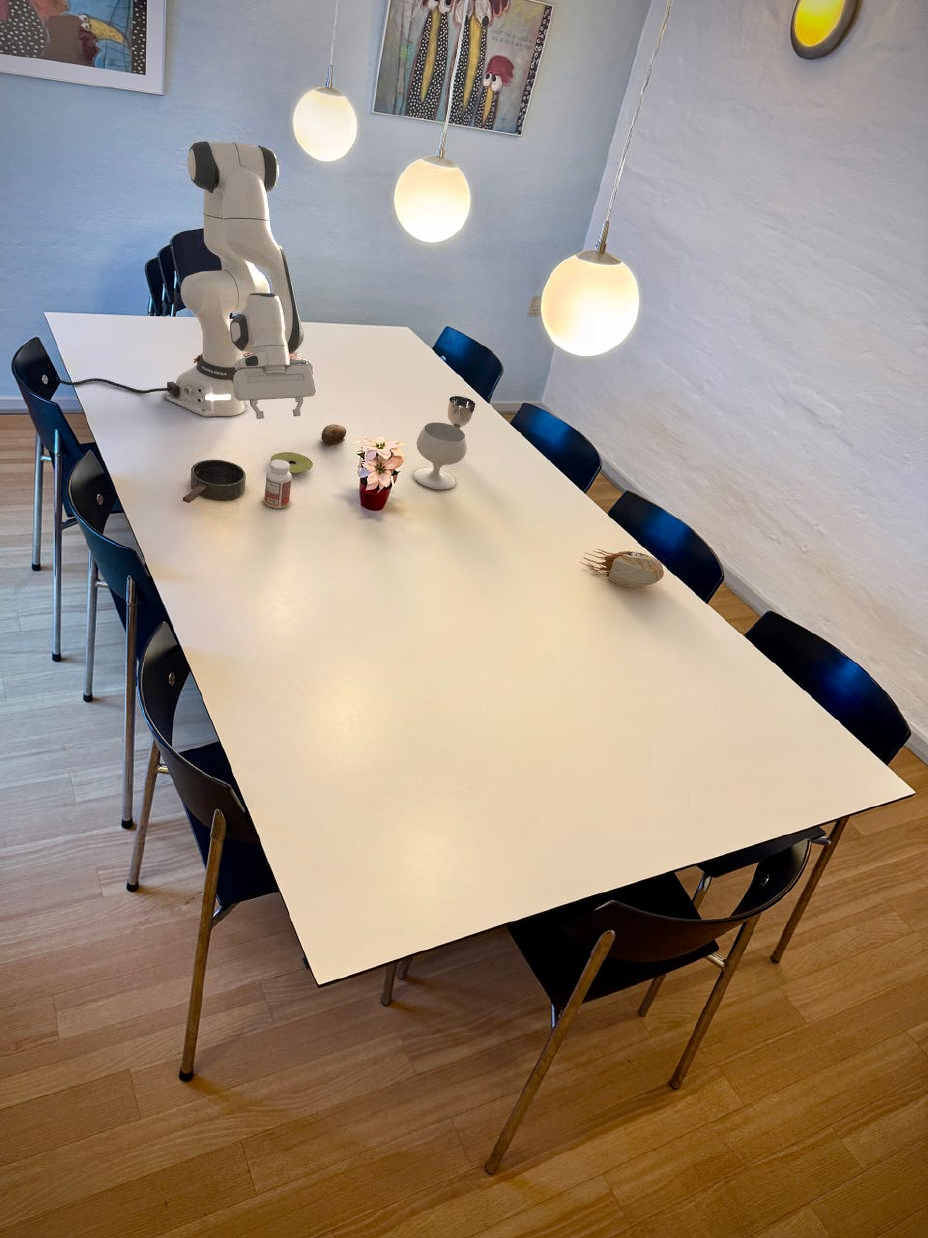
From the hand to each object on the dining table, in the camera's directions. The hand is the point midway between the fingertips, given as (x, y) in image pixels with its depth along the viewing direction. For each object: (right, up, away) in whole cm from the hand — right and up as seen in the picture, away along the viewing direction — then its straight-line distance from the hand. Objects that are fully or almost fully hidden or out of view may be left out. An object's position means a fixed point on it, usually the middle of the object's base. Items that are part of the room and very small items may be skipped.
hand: (278, 417), depth 221 cm
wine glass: (+43, +2, +51) cm, 66 cm away
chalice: (+38, -11, +31) cm, 50 cm away
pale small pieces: (+20, -16, +17) cm, 31 cm away
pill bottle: (-1, -21, +3) cm, 21 cm away
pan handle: (-18, -20, -8) cm, 29 cm away
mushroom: (+8, 0, +35) cm, 36 cm away
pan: (-16, -17, +2) cm, 24 cm away
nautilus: (+87, -40, +10) cm, 96 cm away
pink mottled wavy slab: (-18, +32, +69) cm, 78 cm away
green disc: (-1, -10, +19) cm, 21 cm away
